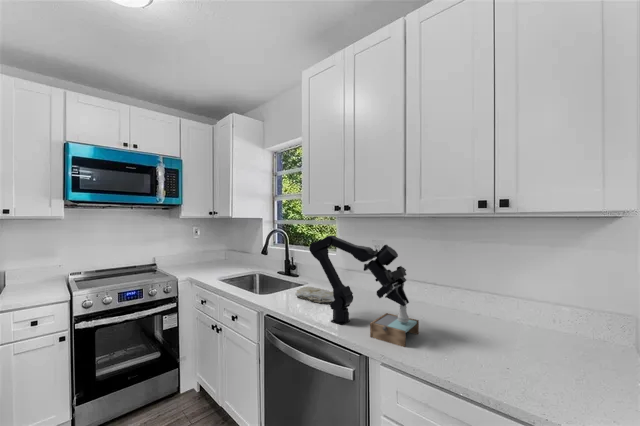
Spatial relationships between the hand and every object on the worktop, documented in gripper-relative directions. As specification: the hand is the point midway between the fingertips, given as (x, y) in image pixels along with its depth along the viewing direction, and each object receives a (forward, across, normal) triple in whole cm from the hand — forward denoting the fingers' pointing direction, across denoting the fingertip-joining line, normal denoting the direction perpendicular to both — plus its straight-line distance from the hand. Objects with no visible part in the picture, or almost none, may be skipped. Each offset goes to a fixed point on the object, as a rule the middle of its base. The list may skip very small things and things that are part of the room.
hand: (406, 304), depth 113 cm
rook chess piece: (+4, 0, +6) cm, 7 cm away
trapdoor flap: (+4, 0, +10) cm, 11 cm away
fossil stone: (-31, +22, +52) cm, 64 cm away
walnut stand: (+6, 0, +13) cm, 14 cm away
